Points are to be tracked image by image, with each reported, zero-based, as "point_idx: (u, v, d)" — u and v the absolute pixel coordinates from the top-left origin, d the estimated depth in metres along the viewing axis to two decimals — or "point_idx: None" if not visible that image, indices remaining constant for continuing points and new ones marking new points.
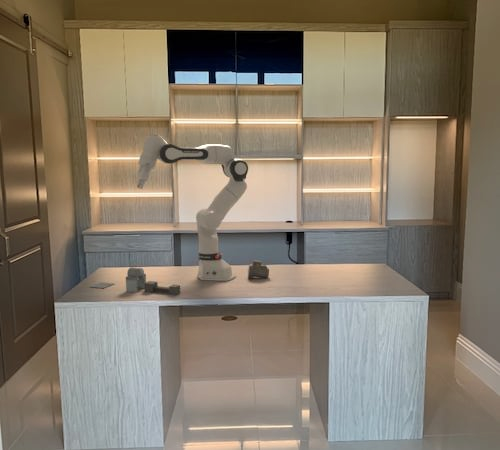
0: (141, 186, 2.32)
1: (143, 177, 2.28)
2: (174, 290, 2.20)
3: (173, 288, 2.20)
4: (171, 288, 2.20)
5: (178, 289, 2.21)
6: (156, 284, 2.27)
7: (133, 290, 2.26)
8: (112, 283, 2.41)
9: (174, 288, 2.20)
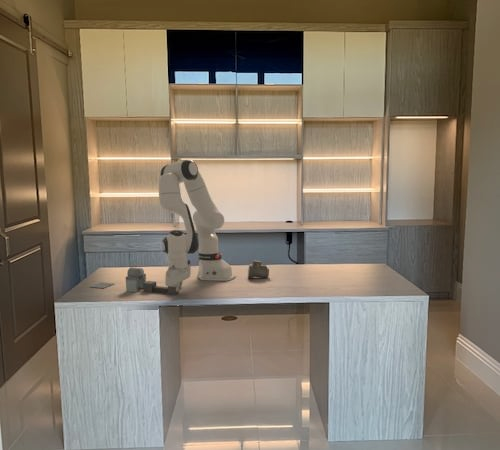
0: (177, 289, 2.20)
1: (167, 283, 2.11)
2: (173, 290, 2.20)
3: (172, 288, 2.20)
4: (170, 288, 2.20)
5: None
6: (155, 284, 2.27)
7: (133, 290, 2.26)
8: (112, 283, 2.41)
9: (173, 288, 2.20)
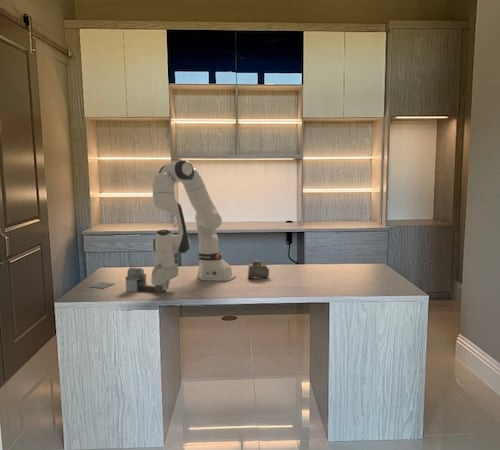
0: (164, 287, 2.22)
1: (153, 282, 2.14)
2: (160, 289, 2.23)
3: (159, 287, 2.23)
4: (157, 287, 2.23)
5: None
6: (142, 283, 2.30)
7: (133, 290, 2.26)
8: (112, 283, 2.41)
9: (160, 287, 2.22)
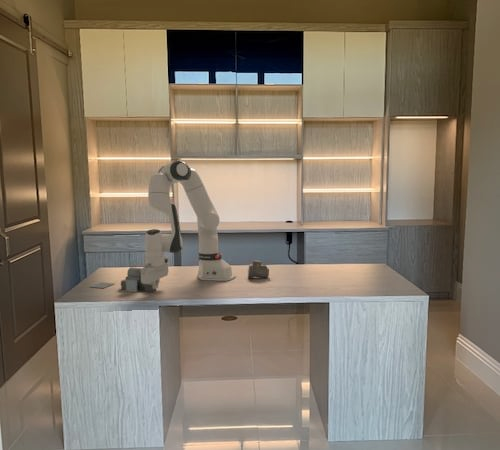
0: (154, 286, 2.24)
1: (142, 281, 2.16)
2: (150, 287, 2.25)
3: (149, 286, 2.25)
4: (147, 286, 2.25)
5: None
6: None
7: (133, 290, 2.26)
8: (112, 283, 2.41)
9: (150, 285, 2.25)
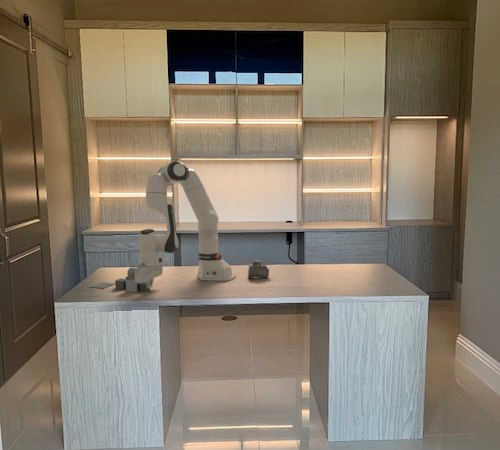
0: (148, 286, 2.26)
1: (136, 280, 2.17)
2: (144, 287, 2.26)
3: (143, 285, 2.26)
4: (141, 285, 2.26)
5: None
6: None
7: (133, 290, 2.26)
8: (112, 283, 2.41)
9: (144, 285, 2.26)
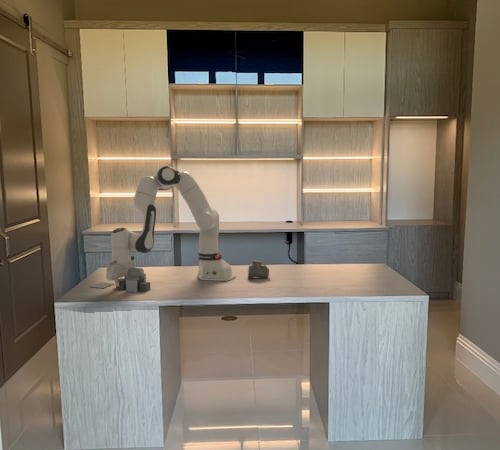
0: (117, 284, 2.30)
1: (107, 278, 2.24)
2: (144, 287, 2.26)
3: (143, 285, 2.26)
4: (141, 285, 2.26)
5: (148, 286, 2.28)
6: None
7: (133, 290, 2.26)
8: (112, 283, 2.41)
9: (144, 285, 2.26)
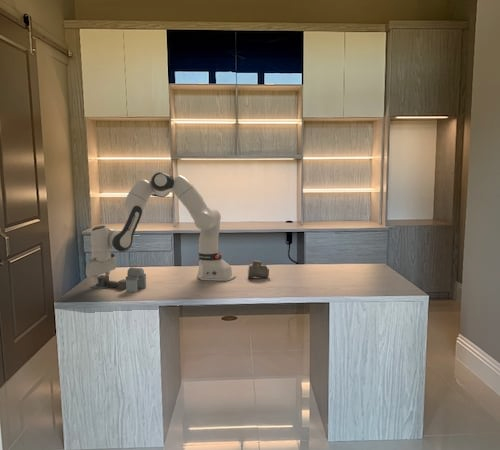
0: (96, 281, 2.34)
1: (87, 274, 2.28)
2: (123, 285, 2.31)
3: (122, 283, 2.31)
4: (120, 283, 2.31)
5: None
6: (107, 278, 2.38)
7: (133, 290, 2.26)
8: None
9: (123, 283, 2.31)
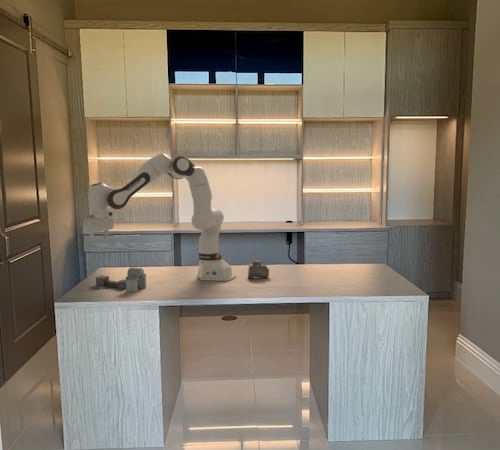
0: (92, 239, 2.30)
1: (84, 231, 2.25)
2: (123, 285, 2.31)
3: (122, 283, 2.31)
4: (120, 283, 2.31)
5: None
6: (107, 278, 2.38)
7: (133, 290, 2.26)
8: None
9: (123, 283, 2.31)
